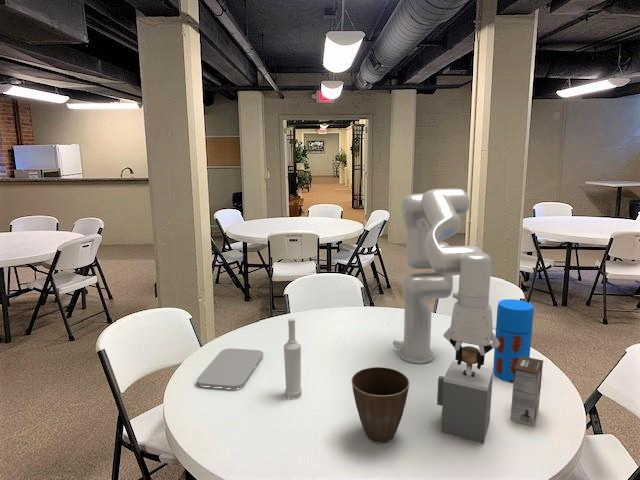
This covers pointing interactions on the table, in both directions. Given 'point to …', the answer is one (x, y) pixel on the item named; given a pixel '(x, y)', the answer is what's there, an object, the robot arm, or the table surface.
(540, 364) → the coffee box
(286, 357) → the bottle
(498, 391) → the table surface
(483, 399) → the block
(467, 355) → the plunger
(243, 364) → the tablet
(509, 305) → the thermos
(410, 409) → the table surface
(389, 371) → the plant pot
